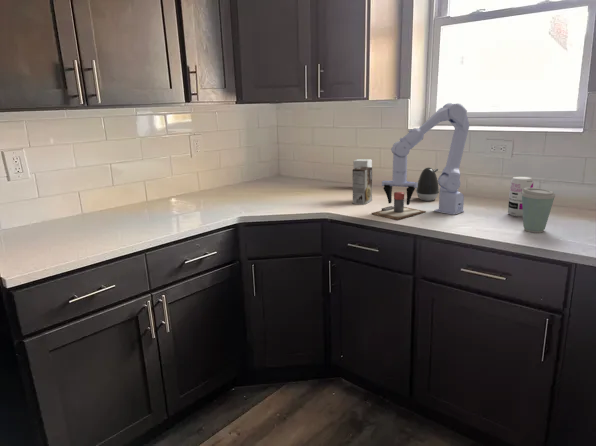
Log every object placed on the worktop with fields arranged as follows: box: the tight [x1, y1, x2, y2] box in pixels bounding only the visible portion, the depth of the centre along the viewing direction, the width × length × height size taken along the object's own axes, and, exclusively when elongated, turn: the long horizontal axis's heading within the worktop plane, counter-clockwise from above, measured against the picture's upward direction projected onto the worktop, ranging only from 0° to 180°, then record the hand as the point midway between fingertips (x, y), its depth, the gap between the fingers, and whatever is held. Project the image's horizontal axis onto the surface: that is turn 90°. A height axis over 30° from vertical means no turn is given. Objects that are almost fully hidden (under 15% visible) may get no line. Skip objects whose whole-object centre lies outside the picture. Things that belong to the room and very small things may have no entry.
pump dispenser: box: [415, 167, 440, 202], centre depth 219 cm, size 10×10×15 cm
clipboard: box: [371, 205, 427, 221], centre depth 197 cm, size 14×18×2 cm
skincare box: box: [352, 158, 373, 169], centre depth 249 cm, size 8×7×16 cm
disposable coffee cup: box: [521, 187, 556, 234], centre depth 165 cm, size 11×11×15 cm
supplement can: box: [507, 175, 534, 218], centre depth 187 cm, size 8×8×15 cm
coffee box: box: [352, 166, 373, 206], centre depth 218 cm, size 9×6×16 cm
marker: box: [393, 191, 405, 213], centre depth 196 cm, size 4×4×8 cm
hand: (398, 203), depth 196 cm, fingers open, 7 cm apart
